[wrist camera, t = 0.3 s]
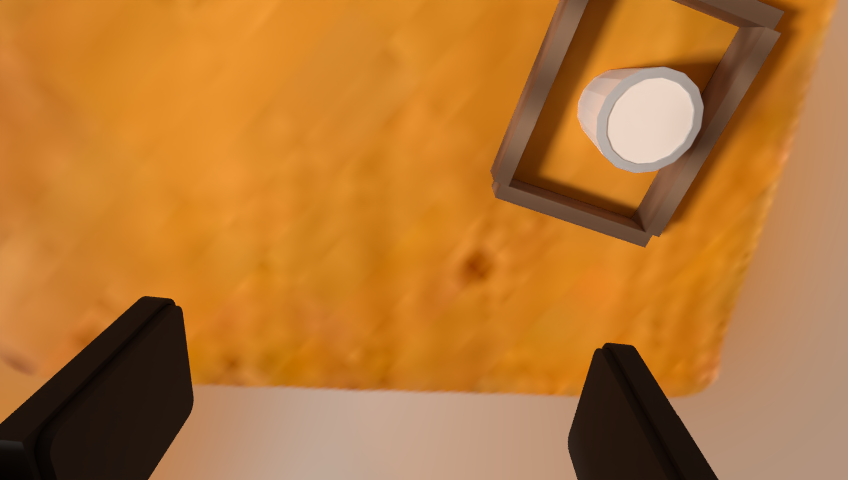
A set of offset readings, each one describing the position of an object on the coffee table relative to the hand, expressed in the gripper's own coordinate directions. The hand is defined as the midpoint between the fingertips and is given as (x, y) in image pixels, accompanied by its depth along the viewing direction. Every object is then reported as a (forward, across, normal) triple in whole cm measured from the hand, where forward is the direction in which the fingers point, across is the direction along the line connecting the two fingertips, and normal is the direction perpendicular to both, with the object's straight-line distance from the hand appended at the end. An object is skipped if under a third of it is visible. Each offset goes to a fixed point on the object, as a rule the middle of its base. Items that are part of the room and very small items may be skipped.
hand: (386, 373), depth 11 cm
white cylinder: (+30, -15, -3) cm, 34 cm away
